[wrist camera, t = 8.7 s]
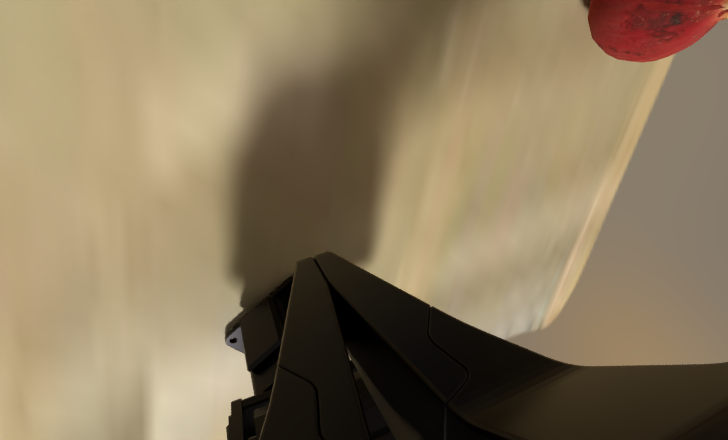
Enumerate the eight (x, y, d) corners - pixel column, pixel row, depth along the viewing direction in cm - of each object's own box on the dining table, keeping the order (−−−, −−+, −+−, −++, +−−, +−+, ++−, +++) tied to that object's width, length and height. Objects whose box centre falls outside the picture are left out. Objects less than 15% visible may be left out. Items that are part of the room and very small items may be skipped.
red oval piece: (552, 64, 25) (678, 86, 19) (561, -40, 22) (717, -56, 16) (620, 41, 26) (759, 55, 20) (638, -60, 23) (810, -82, 17)
